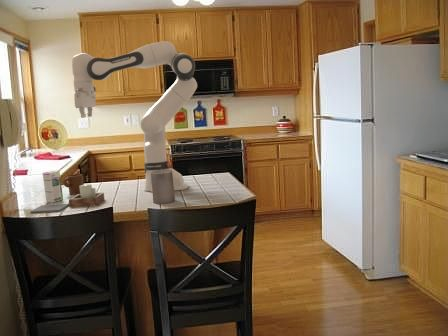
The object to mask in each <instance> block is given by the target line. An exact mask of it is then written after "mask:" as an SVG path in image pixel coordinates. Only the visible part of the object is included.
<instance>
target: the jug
mask: <svg viewBox="0 0 448 336" xmlns="http://www.w3.org/2000/svg"><path fill="white" fill-rule="evenodd" d="M96 193H97V191H96V187H93V185H92V184H91V183H89V184H88V183H87V184H85V183H84V185H80V195H81V198H93V197H96Z"/></svg>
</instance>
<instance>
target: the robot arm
mask: <svg viewBox="0 0 448 336" xmlns="http://www.w3.org/2000/svg"><path fill="white" fill-rule="evenodd" d="M71 65H72V66H71V69H72V74H73V75H72V76H73V89H74V94H73V95H74V107H75V108H76V109H78V110H79V114H80V117H81V118H82V119H83V118H86V117H88V118H91V117H93V108H95V107H96V103H97V102H96V92H97V91H96V90H97V89H96V87H95V86H94V81H93V80H96V81H105V80H108V79H109V78H110V77H111V75H112V73H115V72H118V71H119V72H120V71H123V70H125V69H130V68H131V69H133V68H137V69H143V70H144V69H150V68H157V67H159V66H162V65H169V67H170V69H171V70H172V71H173V73H175V74H176V78H175V79H176V80H175V81H174V83H173V84H172V85H171V86H170V87H169V88H168V89H166V91H165V92H164V94H163V95H162V96H161V97H160V98H159V99H158V100H157V101H156V102H155V103H154V104H153V105H152V106H151V107H150V108H149V109H148V111H146V113H145V114H144V115H143V116H142V118H141V119H140V123H139V125H140V129H141V130H142V132H143V153H144V154H143V155H144V165H143V166H144V173H145V182H144V183H145V184H144V191H146V192H151V193H152V183H151V172H153V171H157V170H161V169H162V170H172V175H173V185H174V192H175V191H182V190H183V191H184V190H186V189H188V188H189V184H188V183H185V180H184V176H183V175H182V174H181V173H180V172H178V171H177V170H175V169H174V168H172V162H171V161H169V160H167V159H168V157H167V156H168V155H167V145H166V143H167V142H166V140H167V139H166V138H167V137H166V126H167V125H168V123H169V122H170V121H172V120H173V119H174V117H175V116H176V115H177V114H178V113H179V112H180V111H181V109H182V108H183V107H184V106H185V105H186V104H187V102H189V100H190V99H191V98H192V96H193V95H194V93H195V92H196V90H197V88H198V82H197V81H196V79H195V78H194V74H195V70H196V62H195V60H194V58H193V57H192V56H191V55H189V54H188V53H185V52H180V51H177V50H176V46H175V45H174V44H173V43H172V42H171V41H167V40H164V41H157V42H152V43H149V44H145V45H142V46H140V47H139V48H136V49H134V50H132V51H131V52H128V53H125V54H121V55H117V56H115V57H110V58H103V57H94V56H92V55H90V54H89V53H86V52H83V53H79V54H76V55H74V56H73V58H72V60H71ZM85 108H86V109H87V114H86V112H85ZM86 115H87V116H86Z"/></svg>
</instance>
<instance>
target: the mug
mask: <svg viewBox="0 0 448 336" xmlns="http://www.w3.org/2000/svg"><path fill="white" fill-rule="evenodd" d="M62 182H63V183H62V184H63V186H64V187H65V188H68V192H69V195H77V194H80V185H85V183H84V177H83V174H82V173H78V174H77V173H76V174H70V175H67V177H65V178H64V179H63V181H62Z"/></svg>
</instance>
